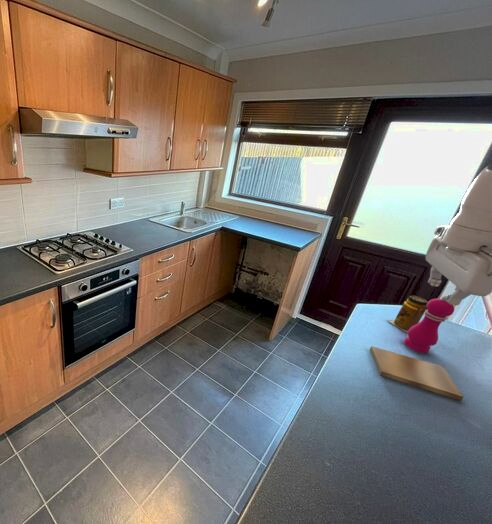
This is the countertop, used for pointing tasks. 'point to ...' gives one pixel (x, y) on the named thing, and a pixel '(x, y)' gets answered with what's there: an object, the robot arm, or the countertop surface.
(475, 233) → the robot arm
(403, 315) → the condiment
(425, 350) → the pepper mill
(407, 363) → the chopping board
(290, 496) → the countertop surface
